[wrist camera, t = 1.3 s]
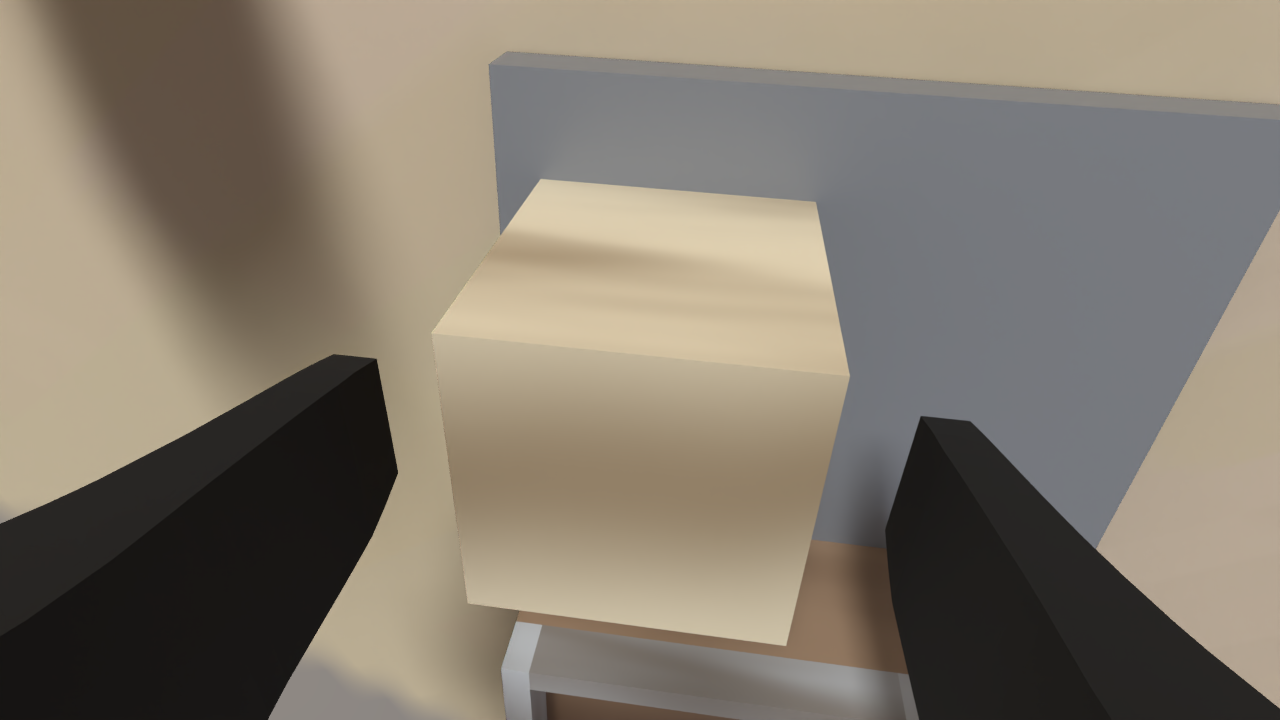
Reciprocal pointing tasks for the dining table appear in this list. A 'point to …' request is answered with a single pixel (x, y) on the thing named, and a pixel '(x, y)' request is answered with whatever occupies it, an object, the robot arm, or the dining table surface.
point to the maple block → (644, 408)
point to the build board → (948, 243)
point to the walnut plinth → (725, 659)
